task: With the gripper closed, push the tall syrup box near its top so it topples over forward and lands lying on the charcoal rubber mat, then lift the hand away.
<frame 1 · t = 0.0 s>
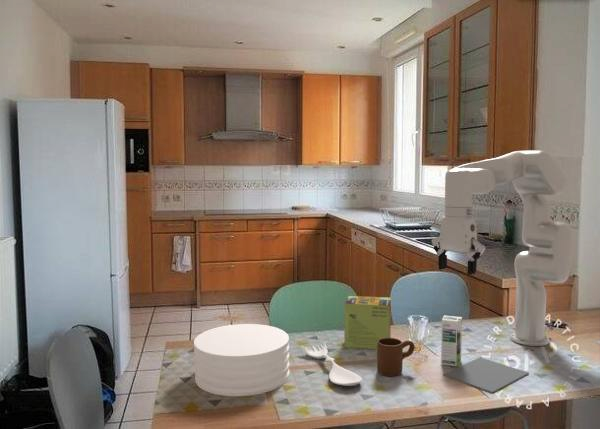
hand: (456, 271, 152), 31 cm above the table, tool pointing down, fingers open, 9 cm apart
syrup box: (451, 363, 165), on the table
rubber mat: (485, 374, 155), on the table
spoon: (330, 370, 161), on the table
plate stack: (242, 376, 157), on the table
protein box: (367, 344, 182), on the table
mug: (396, 371, 159), on the table
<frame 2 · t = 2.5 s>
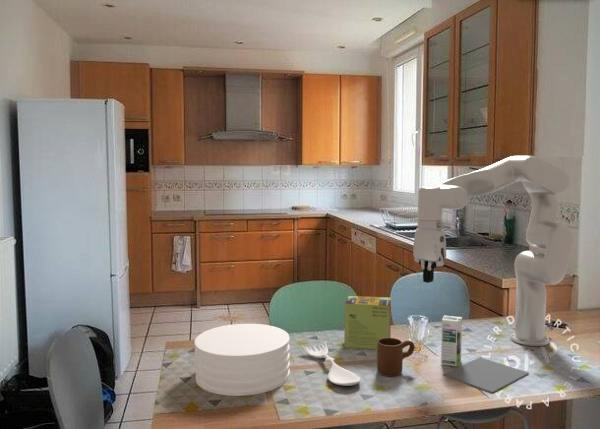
hand: (428, 281, 169), 24 cm above the table, tool pointing down, fingers closed
nothing on the table moved.
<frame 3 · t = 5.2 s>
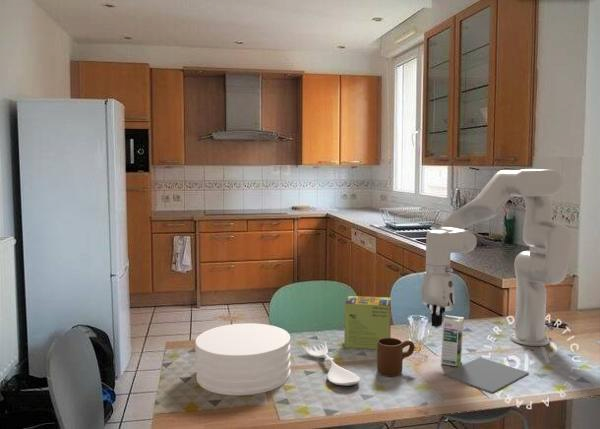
hand: (436, 325, 168), 11 cm above the table, tool pointing down, fingers closed
nothing on the table moved.
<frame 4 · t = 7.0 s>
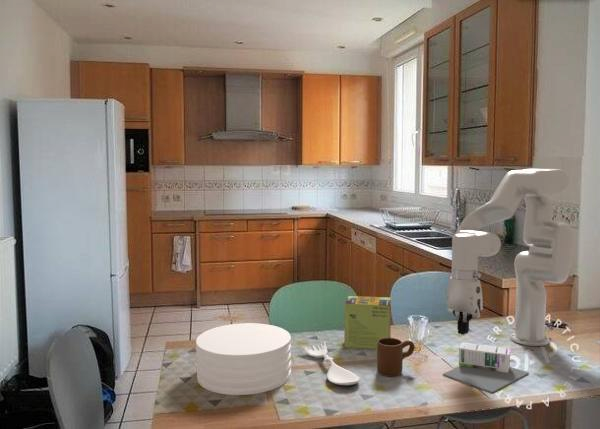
hand: (463, 333, 160), 11 cm above the table, tool pointing down, fingers closed
syrup box: (459, 353, 164), point 3 cm above the table, touching rubber mat
everything else where it was.
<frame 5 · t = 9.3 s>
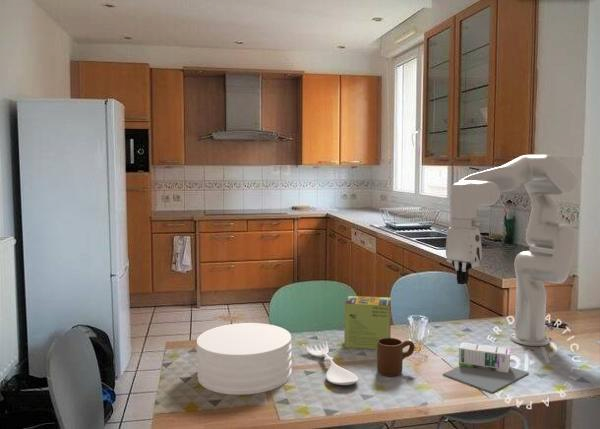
hand: (462, 283, 160), 26 cm above the table, tool pointing down, fingers closed
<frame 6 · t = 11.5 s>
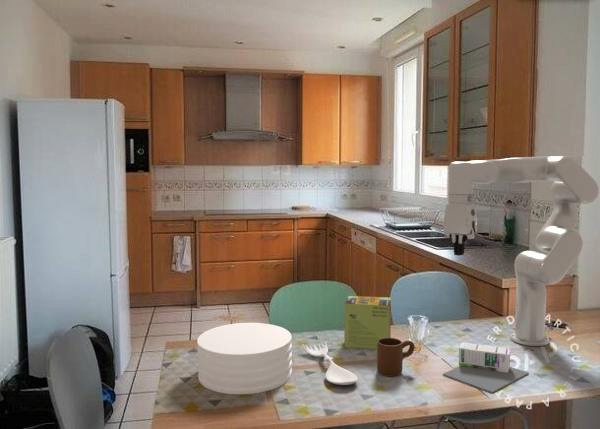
hand: (458, 254, 173), 32 cm above the table, tool pointing down, fingers closed
at the end: syrup box tilted 90°; syrup box touching rubber mat; syrup box inside the target area (7.1 cm from its centre), point 3.3 cm above the table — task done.
